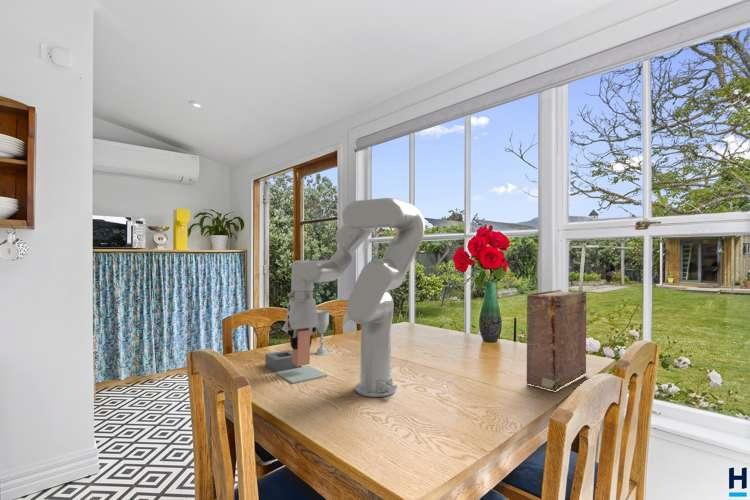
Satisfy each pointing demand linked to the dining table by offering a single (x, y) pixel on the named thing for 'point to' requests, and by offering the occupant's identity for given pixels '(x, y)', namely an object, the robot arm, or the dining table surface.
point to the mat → (301, 374)
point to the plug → (302, 348)
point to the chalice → (322, 328)
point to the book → (555, 338)
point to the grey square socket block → (280, 361)
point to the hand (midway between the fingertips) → (301, 346)
